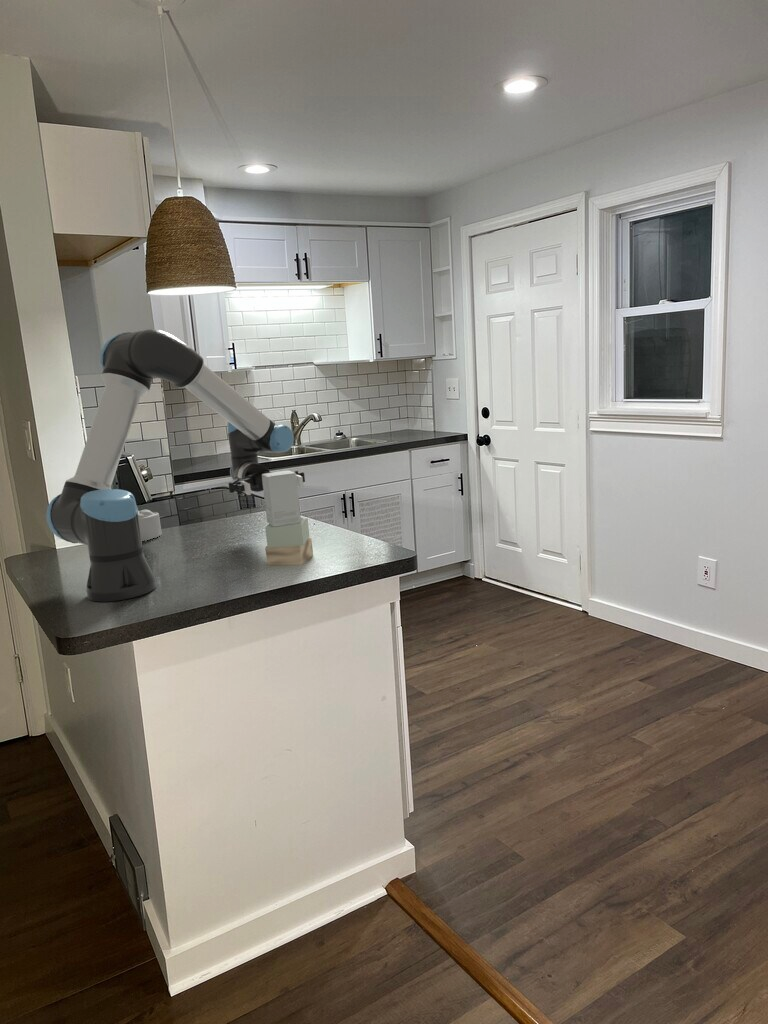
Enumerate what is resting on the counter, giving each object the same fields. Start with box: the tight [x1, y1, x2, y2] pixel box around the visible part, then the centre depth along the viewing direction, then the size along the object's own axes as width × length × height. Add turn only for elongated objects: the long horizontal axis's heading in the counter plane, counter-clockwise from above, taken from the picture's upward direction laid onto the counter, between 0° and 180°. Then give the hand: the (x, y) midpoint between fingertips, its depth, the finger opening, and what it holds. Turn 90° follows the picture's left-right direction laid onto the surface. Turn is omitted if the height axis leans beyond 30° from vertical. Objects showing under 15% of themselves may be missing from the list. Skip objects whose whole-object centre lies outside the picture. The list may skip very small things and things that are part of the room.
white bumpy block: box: [138, 509, 163, 541], centre depth 233 cm, size 10×13×9 cm
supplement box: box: [262, 470, 302, 527], centre depth 189 cm, size 7×7×13 cm
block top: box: [264, 517, 311, 547], centre depth 191 cm, size 9×9×5 cm
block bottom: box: [264, 536, 314, 566], centre depth 192 cm, size 9×9×5 cm
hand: (275, 485), depth 191 cm, fingers open, 13 cm apart
